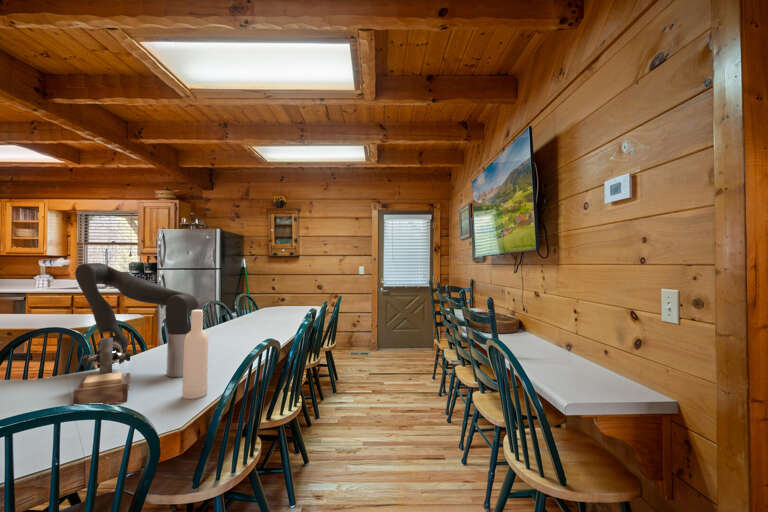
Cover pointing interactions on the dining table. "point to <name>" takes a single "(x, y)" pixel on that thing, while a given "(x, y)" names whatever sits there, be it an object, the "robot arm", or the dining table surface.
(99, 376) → the wooden block with post
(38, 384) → the dining table surface
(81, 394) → the bay
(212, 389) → the dining table surface
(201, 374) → the bottle
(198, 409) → the dining table surface
